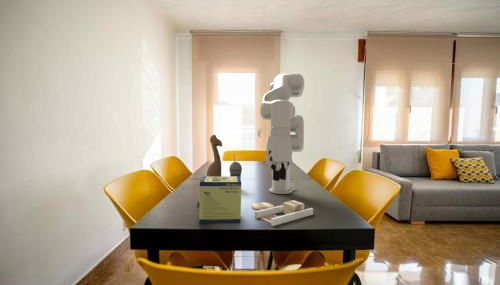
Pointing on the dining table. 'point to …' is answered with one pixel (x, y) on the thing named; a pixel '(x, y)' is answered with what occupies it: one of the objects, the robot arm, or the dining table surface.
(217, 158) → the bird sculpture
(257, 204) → the coaster
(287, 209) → the block
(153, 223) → the dining table surface
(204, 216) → the protein box
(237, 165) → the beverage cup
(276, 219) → the channel
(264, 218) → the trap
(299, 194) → the dining table surface
